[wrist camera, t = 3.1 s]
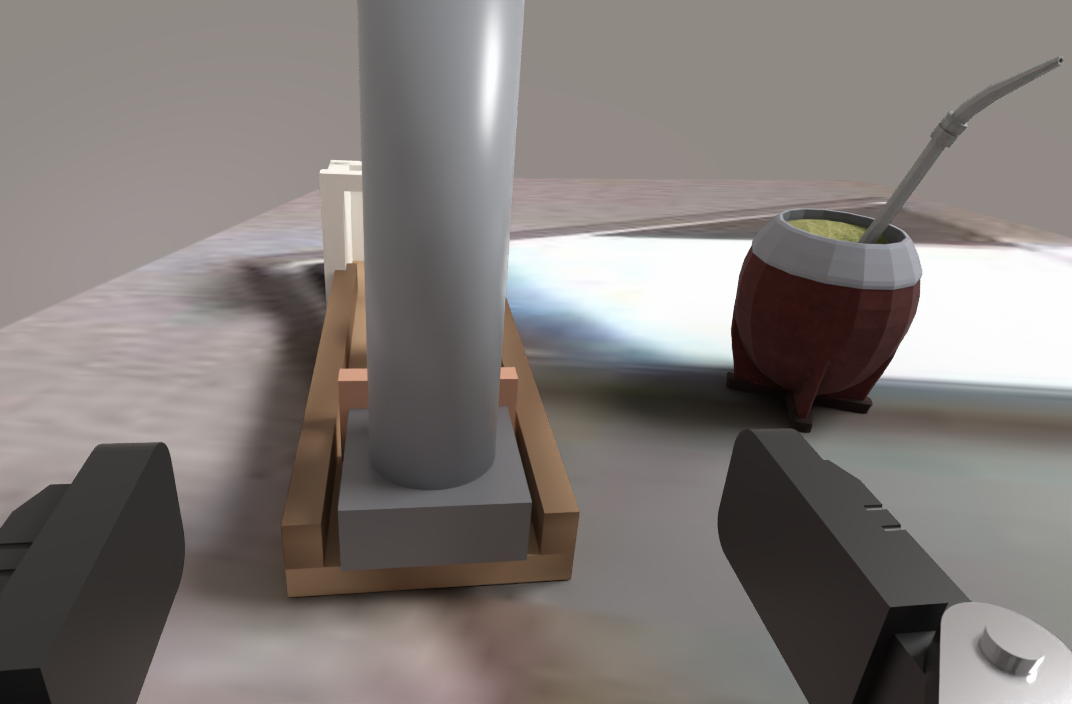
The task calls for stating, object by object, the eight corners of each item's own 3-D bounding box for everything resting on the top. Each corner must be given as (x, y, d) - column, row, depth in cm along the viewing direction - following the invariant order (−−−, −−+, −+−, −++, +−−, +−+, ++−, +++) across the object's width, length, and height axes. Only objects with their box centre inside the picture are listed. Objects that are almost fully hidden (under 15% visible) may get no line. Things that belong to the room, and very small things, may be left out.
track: (288, 597, 20) (280, 525, 19) (345, 268, 43) (344, 227, 42) (570, 579, 22) (579, 511, 20) (481, 270, 44) (483, 230, 43)
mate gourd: (719, 351, 37) (788, 26, 30) (883, 380, 35) (995, 45, 29) (715, 425, 30) (802, 31, 24) (917, 464, 29) (1071, 56, 22)
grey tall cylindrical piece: (329, 572, 19) (292, -21, 13) (343, 448, 24) (322, -21, 18) (537, 559, 20) (594, 5, 14) (509, 443, 25) (542, -2, 19)
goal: (326, 316, 37) (319, 173, 34) (336, 271, 42) (330, 144, 39) (504, 317, 38) (513, 180, 35) (490, 273, 44) (496, 152, 41)
